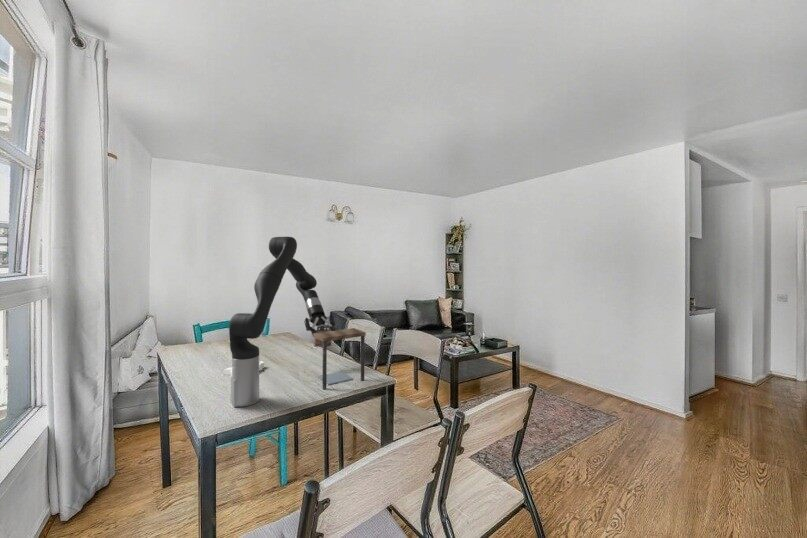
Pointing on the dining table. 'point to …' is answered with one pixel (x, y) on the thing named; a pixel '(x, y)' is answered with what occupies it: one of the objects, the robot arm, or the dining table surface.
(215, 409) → the dining table surface
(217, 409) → the dining table surface
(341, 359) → the dining table surface
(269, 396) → the dining table surface
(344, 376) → the pad
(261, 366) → the white brass knuckles
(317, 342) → the lighter
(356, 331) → the miniature side table
